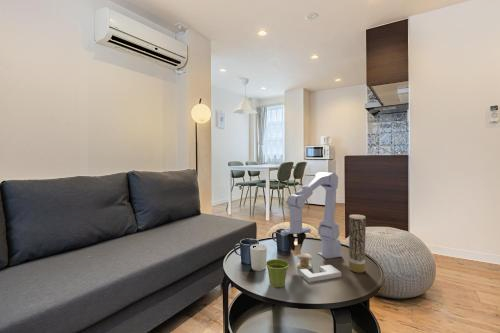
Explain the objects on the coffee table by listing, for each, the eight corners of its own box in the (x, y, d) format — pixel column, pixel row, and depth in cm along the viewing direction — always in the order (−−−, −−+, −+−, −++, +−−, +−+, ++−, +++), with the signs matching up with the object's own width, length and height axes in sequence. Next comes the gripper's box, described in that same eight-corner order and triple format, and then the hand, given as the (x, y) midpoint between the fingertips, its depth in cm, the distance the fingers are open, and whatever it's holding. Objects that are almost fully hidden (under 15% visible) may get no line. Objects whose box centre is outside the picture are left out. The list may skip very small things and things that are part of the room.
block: (296, 251, 122) (296, 241, 122) (300, 254, 118) (300, 244, 118) (290, 252, 121) (290, 242, 121) (294, 255, 118) (294, 245, 117)
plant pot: (274, 276, 113) (274, 257, 112) (293, 283, 107) (293, 262, 106) (261, 285, 105) (261, 264, 105) (280, 292, 100) (280, 270, 99)
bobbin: (307, 262, 127) (307, 252, 127) (314, 268, 120) (314, 257, 120) (294, 264, 125) (294, 254, 124) (301, 270, 118) (301, 259, 118)
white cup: (267, 264, 125) (267, 244, 125) (266, 271, 117) (266, 250, 117) (251, 264, 126) (250, 243, 126) (249, 271, 118) (249, 249, 118)
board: (329, 268, 120) (330, 264, 120) (341, 276, 112) (341, 271, 112) (299, 274, 115) (299, 269, 115) (308, 282, 107) (308, 277, 107)
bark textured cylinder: (366, 273, 114) (367, 218, 113) (350, 272, 116) (350, 217, 115) (363, 267, 121) (363, 214, 120) (347, 266, 122) (348, 214, 121)
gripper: (305, 217, 125) (305, 244, 126) (277, 219, 121) (278, 248, 121) (313, 220, 118) (313, 249, 119) (284, 223, 114) (284, 253, 114)
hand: (295, 249), depth 120 cm, fingers closed on block, 3 cm apart
